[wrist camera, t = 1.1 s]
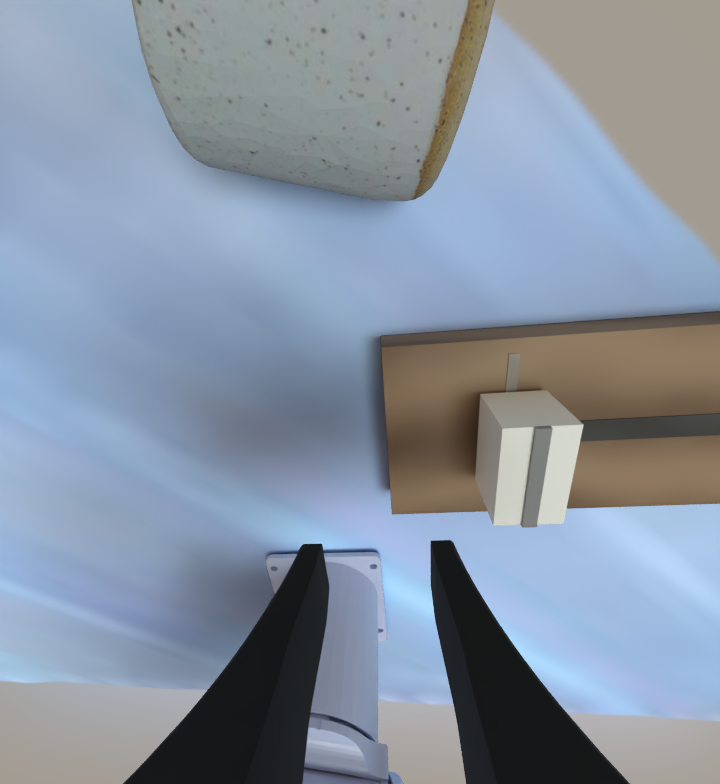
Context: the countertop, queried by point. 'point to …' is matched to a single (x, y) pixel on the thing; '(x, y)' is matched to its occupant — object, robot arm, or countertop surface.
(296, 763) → the robot arm
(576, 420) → the fader knob
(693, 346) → the fader console
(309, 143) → the ceramic mug
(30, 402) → the countertop surface
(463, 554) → the countertop surface
